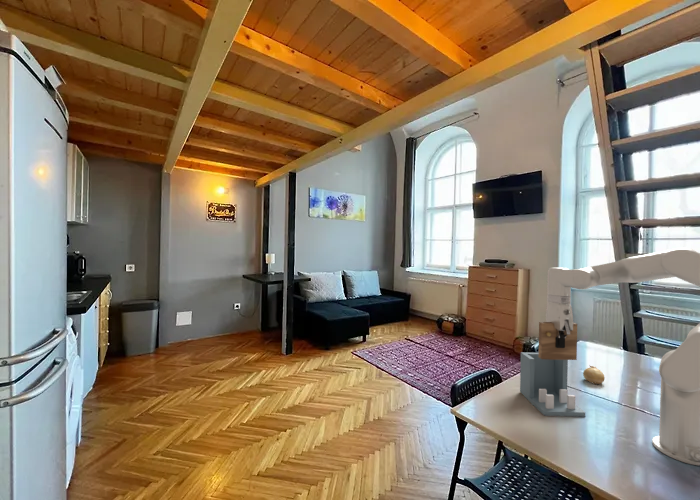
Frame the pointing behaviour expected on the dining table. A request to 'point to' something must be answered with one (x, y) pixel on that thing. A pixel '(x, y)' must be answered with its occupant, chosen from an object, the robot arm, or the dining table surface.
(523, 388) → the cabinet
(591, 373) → the onion
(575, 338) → the door
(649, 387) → the dining table surface
